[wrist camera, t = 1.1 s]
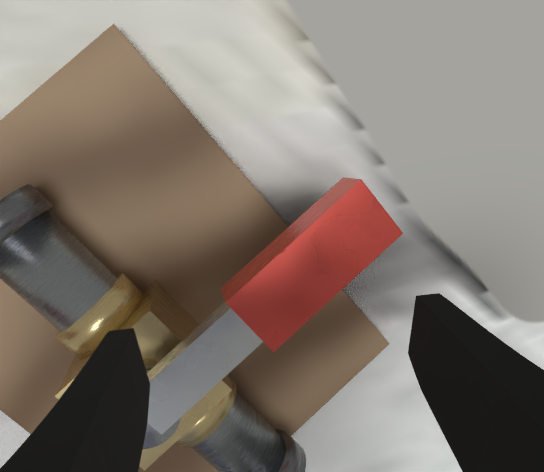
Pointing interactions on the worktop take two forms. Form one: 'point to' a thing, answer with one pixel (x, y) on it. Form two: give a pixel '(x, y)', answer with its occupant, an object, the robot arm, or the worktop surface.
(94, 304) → the valve pipe
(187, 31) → the worktop surface
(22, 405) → the mounting board
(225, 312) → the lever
